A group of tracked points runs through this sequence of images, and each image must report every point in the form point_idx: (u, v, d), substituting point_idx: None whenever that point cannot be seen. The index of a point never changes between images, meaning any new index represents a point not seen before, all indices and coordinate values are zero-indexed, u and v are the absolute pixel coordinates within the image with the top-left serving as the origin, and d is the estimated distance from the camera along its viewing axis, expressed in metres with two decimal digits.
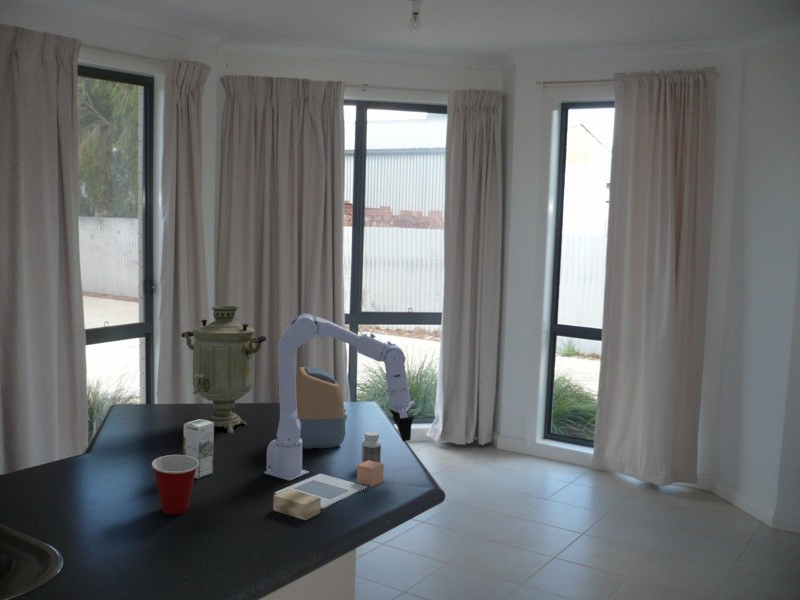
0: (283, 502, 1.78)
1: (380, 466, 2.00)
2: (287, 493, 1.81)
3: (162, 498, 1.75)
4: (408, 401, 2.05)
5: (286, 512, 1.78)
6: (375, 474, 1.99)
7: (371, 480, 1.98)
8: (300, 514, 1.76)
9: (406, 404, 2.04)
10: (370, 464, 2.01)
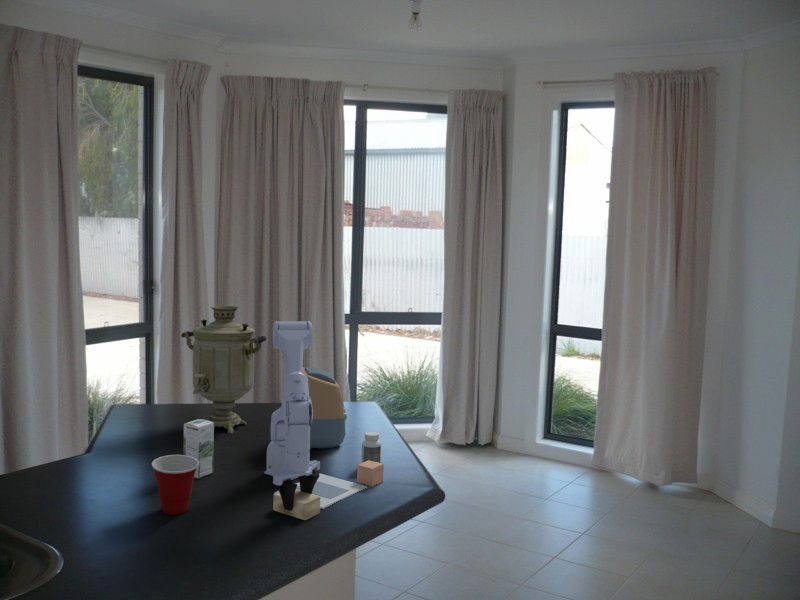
0: None
1: (380, 466, 2.00)
2: None
3: (162, 498, 1.75)
4: (299, 468, 1.76)
5: (286, 511, 1.78)
6: (375, 474, 1.99)
7: (371, 480, 1.98)
8: (299, 513, 1.76)
9: (295, 471, 1.76)
10: (370, 464, 2.01)
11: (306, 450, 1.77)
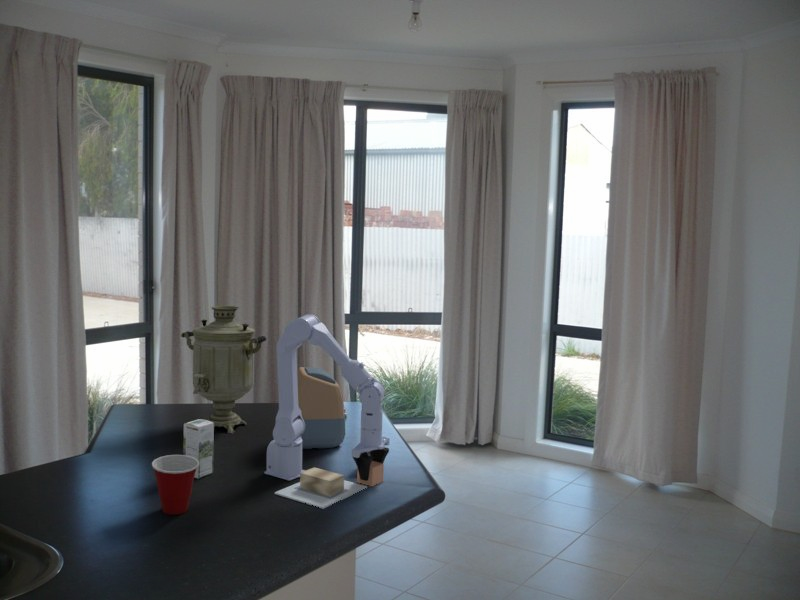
0: (309, 479, 1.92)
1: (380, 466, 2.00)
2: (312, 471, 1.95)
3: (162, 498, 1.75)
4: (374, 443, 1.97)
5: (312, 488, 1.92)
6: (375, 474, 1.99)
7: (371, 480, 1.98)
8: (325, 490, 1.89)
9: (370, 445, 1.97)
10: None
11: None
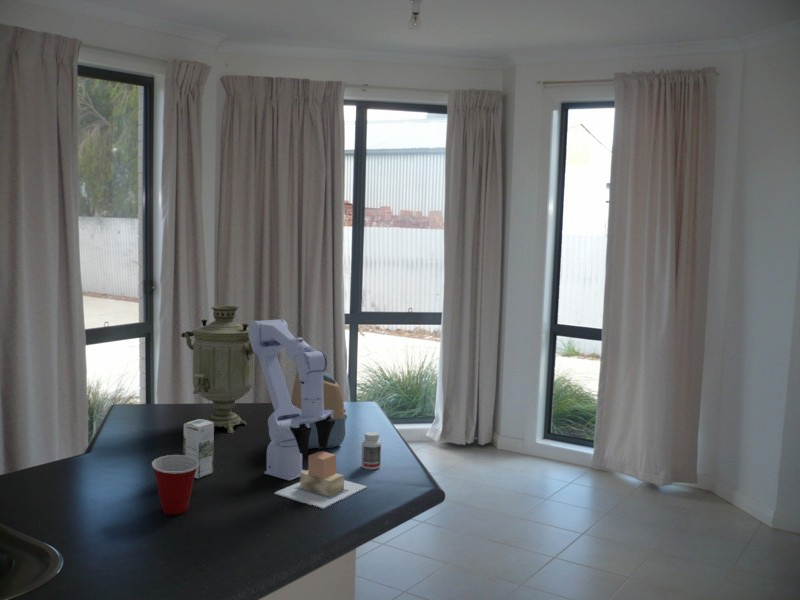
0: (309, 479, 1.92)
1: (332, 457, 1.92)
2: None
3: (162, 498, 1.75)
4: (314, 413, 1.90)
5: (312, 488, 1.92)
6: (327, 466, 1.91)
7: (322, 472, 1.90)
8: (325, 490, 1.89)
9: (310, 415, 1.90)
10: (321, 454, 1.93)
11: (322, 395, 1.92)
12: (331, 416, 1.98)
